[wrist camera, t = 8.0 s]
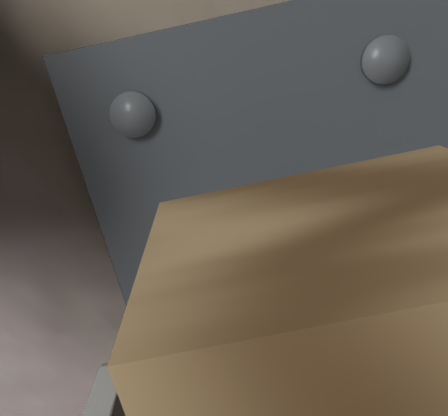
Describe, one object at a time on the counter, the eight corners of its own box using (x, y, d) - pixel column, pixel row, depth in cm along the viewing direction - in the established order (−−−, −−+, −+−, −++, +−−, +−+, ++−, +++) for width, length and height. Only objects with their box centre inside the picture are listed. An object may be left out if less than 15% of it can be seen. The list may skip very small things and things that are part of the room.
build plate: (438, -31, 15) (458, -38, 13) (446, 305, 19) (462, 322, 18) (52, 56, 15) (39, 56, 14) (152, 361, 20) (149, 381, 19)
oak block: (438, 145, 9) (705, 251, 4) (444, 369, 11) (624, 611, 6) (159, 202, 9) (107, 366, 4) (216, 412, 11) (224, 676, 6)
